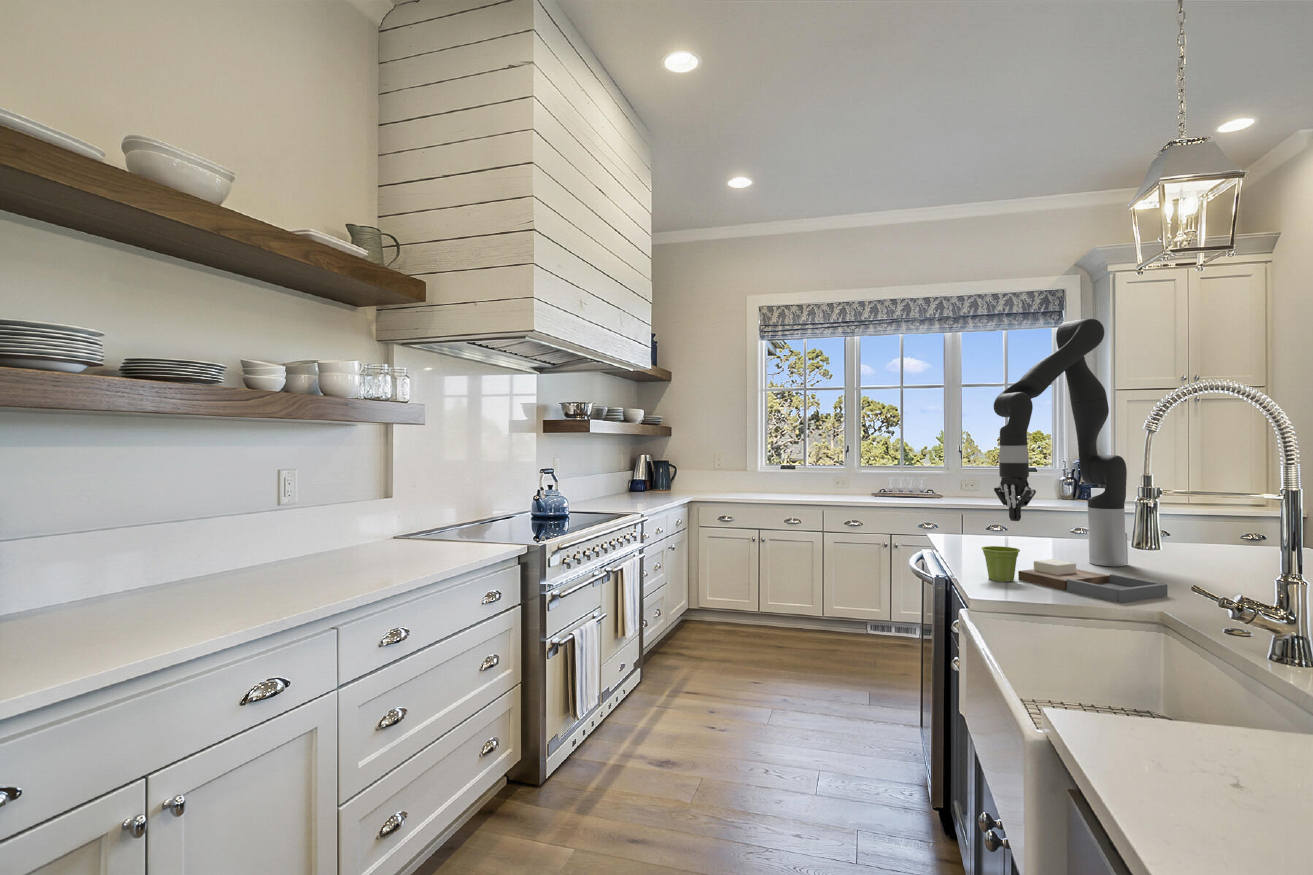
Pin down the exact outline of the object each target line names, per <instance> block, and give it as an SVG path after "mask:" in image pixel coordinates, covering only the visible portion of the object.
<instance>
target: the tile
mask: <svg viewBox="0 0 1313 875" xmlns="http://www.w3.org/2000/svg"><path fill="white" fill-rule="evenodd" d="M1033 569H1034V570H1035V571H1040V572H1045V573H1050V574H1055V575H1061V574H1070V573H1076V569H1077V563H1076V562H1071V561H1064V560H1060V559H1043V560H1033Z"/></svg>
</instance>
